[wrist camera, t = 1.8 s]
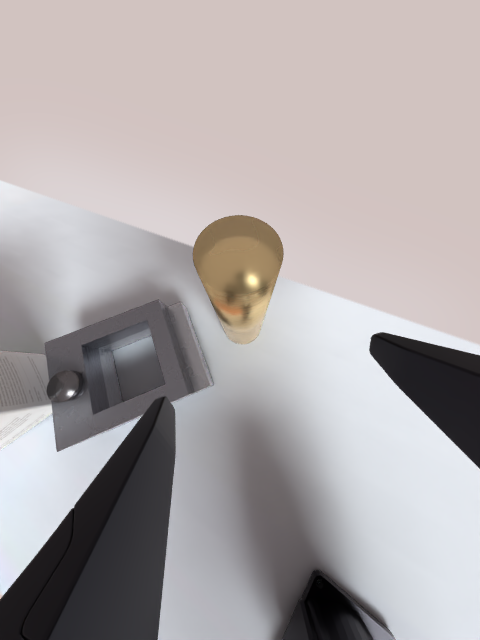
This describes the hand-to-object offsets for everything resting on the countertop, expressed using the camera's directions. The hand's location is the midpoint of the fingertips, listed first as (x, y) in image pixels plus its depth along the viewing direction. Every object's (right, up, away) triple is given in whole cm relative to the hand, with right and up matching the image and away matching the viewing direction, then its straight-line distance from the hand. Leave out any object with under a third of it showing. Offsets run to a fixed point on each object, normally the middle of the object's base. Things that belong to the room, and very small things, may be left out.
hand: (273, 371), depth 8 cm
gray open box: (-11, -3, +12) cm, 17 cm away
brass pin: (-1, +2, +13) cm, 13 cm away
